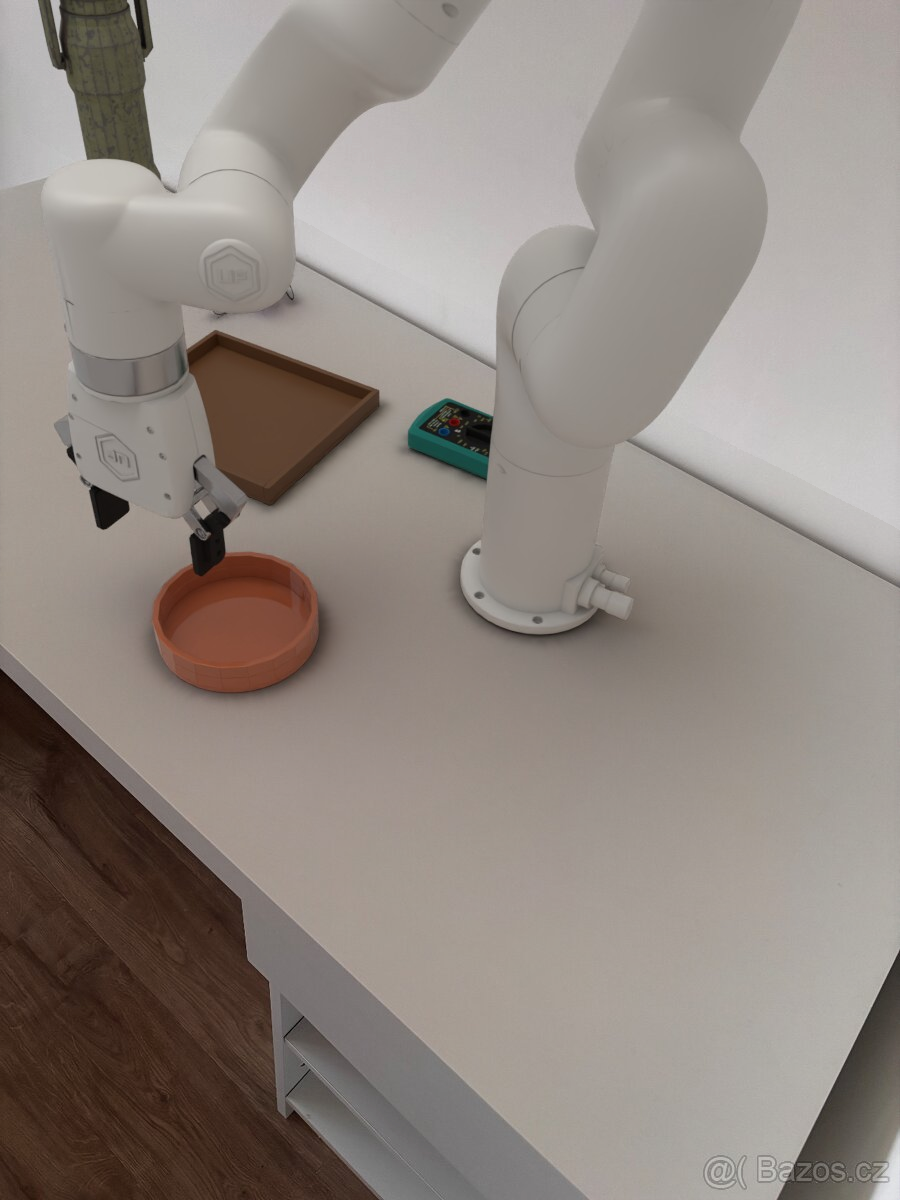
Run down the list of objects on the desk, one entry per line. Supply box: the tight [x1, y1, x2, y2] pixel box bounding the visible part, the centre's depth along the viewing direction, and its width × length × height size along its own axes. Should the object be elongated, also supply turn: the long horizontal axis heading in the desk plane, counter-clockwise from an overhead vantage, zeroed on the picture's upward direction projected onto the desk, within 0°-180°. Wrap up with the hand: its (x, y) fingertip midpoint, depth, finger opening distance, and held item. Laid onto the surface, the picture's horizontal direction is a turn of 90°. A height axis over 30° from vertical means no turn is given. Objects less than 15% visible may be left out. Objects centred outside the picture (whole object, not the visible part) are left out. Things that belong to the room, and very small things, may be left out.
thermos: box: [37, 0, 163, 183], centre depth 124 cm, size 9×12×35 cm
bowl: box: [151, 551, 320, 693], centre depth 86 cm, size 13×13×3 cm
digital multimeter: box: [407, 397, 493, 480], centre depth 104 cm, size 7×15×3 cm, turn 58°
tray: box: [187, 329, 380, 506], centre depth 107 cm, size 21×19×2 cm
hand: (161, 542), depth 84 cm, fingers open, 9 cm apart
